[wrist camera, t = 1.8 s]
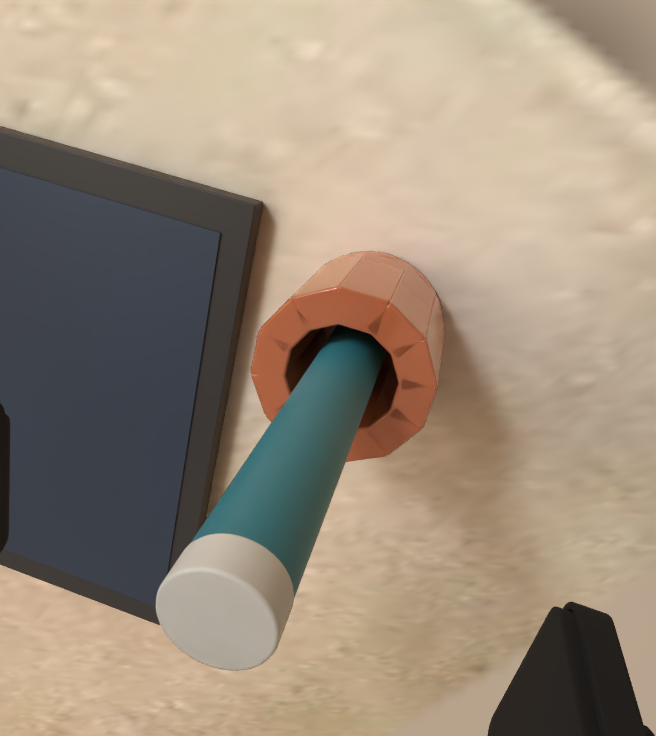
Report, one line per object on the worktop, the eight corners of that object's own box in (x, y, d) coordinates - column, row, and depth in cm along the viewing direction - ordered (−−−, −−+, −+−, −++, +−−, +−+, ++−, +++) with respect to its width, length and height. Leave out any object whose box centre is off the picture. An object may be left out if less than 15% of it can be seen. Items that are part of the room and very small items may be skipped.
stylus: (348, 295, 19) (161, 550, 8) (401, 310, 19) (291, 598, 8) (335, 344, 20) (147, 644, 9) (386, 360, 20) (265, 689, 8)
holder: (317, 232, 19) (270, 265, 15) (463, 275, 19) (461, 322, 14) (287, 365, 22) (238, 429, 17) (418, 406, 21) (403, 484, 17)
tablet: (-78, 103, 21) (-99, 102, 20) (263, 201, 19) (254, 205, 19) (-53, 529, 29) (-67, 541, 29) (187, 620, 28) (178, 634, 27)
